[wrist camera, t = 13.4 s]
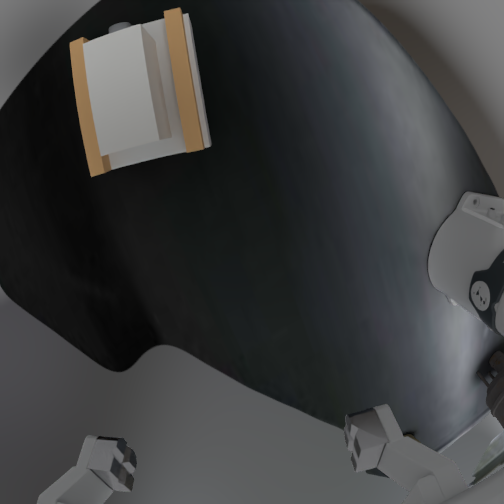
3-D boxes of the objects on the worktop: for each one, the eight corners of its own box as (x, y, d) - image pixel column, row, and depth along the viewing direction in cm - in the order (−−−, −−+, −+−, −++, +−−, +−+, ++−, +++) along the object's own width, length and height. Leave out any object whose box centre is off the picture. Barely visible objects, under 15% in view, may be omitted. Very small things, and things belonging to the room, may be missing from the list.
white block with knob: (171, 137, 27) (159, 140, 22) (123, 149, 27) (100, 156, 22) (153, 27, 23) (138, 7, 17) (105, 42, 23) (81, 28, 17)
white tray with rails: (191, 25, 26) (185, 6, 21) (211, 144, 32) (209, 148, 26) (88, 54, 26) (65, 44, 21) (107, 168, 32) (86, 178, 26)
